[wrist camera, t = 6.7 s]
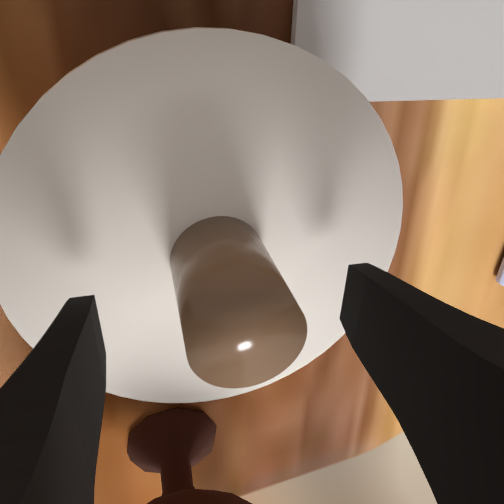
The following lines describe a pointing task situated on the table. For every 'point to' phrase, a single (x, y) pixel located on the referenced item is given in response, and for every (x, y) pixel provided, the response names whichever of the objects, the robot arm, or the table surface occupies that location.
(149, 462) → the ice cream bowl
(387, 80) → the mat
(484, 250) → the table surface
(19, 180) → the lid
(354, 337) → the robot arm
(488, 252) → the table surface
